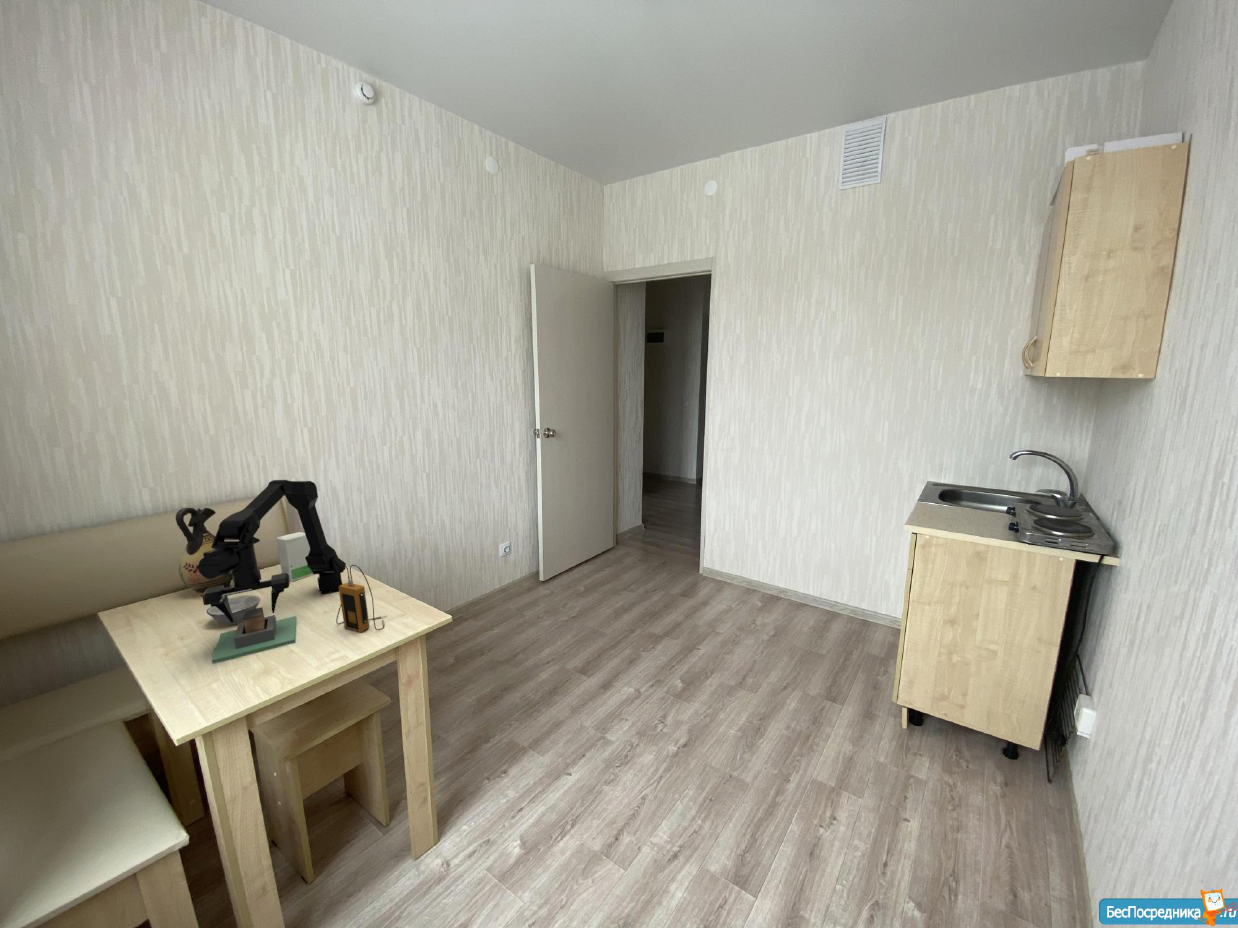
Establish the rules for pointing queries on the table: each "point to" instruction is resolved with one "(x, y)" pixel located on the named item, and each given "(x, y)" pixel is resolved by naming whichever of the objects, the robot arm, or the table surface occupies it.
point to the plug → (254, 620)
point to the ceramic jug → (197, 550)
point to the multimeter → (355, 604)
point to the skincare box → (294, 555)
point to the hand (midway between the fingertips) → (253, 617)
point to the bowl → (235, 609)
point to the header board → (255, 639)
